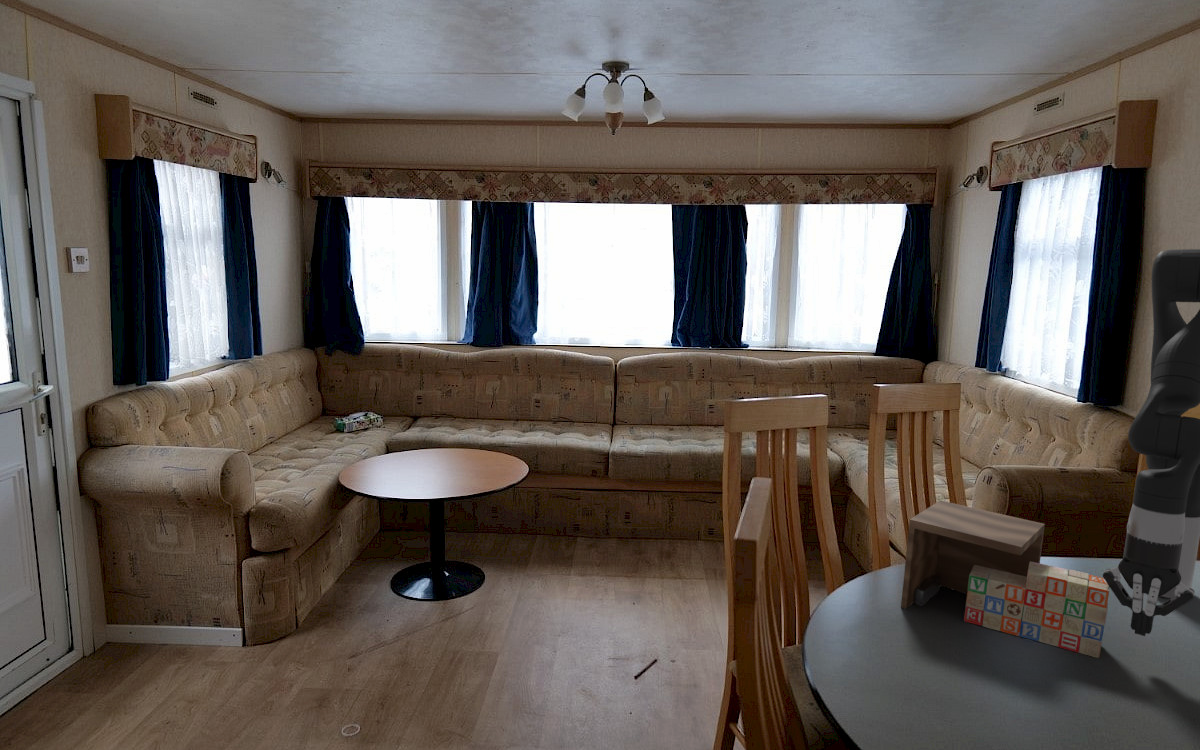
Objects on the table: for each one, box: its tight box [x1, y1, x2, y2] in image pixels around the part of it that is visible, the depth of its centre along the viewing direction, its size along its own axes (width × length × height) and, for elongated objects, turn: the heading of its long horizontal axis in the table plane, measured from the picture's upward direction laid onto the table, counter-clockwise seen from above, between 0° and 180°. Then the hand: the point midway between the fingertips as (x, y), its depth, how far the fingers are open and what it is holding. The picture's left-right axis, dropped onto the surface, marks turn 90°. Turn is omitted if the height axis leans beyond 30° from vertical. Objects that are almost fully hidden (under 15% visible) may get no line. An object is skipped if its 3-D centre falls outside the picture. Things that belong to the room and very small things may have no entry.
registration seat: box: [913, 574, 941, 607], centre depth 152 cm, size 10×2×3 cm, turn 138°
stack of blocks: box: [963, 562, 1111, 659], centre depth 138 cm, size 21×6×12 cm, turn 56°
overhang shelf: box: [900, 500, 1046, 610], centre depth 146 cm, size 17×19×18 cm
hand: (1140, 633), depth 129 cm, fingers closed
